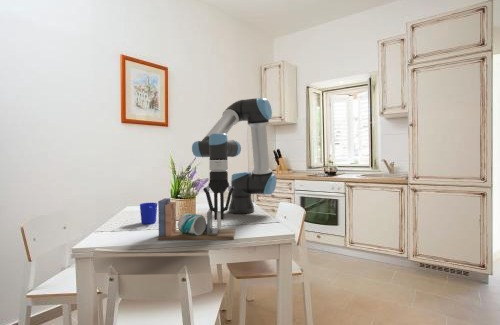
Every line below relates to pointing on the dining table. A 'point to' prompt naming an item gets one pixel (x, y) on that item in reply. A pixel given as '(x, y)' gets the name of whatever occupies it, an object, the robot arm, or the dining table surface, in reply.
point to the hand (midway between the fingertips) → (219, 227)
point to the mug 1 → (148, 213)
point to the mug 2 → (192, 224)
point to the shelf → (170, 233)
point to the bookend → (209, 225)
